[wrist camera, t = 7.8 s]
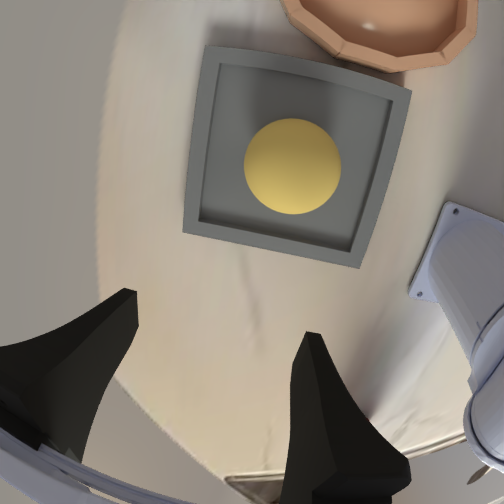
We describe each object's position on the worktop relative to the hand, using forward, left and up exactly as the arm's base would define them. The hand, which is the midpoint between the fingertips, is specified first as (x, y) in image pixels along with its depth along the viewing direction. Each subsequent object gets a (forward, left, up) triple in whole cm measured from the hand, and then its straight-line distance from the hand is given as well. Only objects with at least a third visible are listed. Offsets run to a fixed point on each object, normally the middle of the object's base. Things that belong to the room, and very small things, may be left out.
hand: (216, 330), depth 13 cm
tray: (-2, -6, -10) cm, 12 cm away
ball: (-2, -6, -9) cm, 11 cm away
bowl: (-5, -19, -10) cm, 22 cm away
